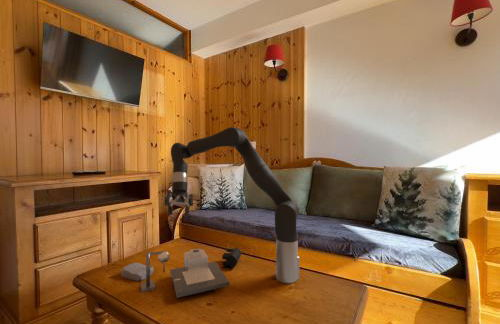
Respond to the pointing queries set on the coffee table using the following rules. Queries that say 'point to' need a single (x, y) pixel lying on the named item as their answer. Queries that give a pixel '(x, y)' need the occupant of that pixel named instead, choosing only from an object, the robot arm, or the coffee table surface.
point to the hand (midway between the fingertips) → (178, 214)
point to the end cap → (231, 258)
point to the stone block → (135, 271)
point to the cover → (195, 262)
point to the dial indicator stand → (149, 284)
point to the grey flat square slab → (198, 280)
